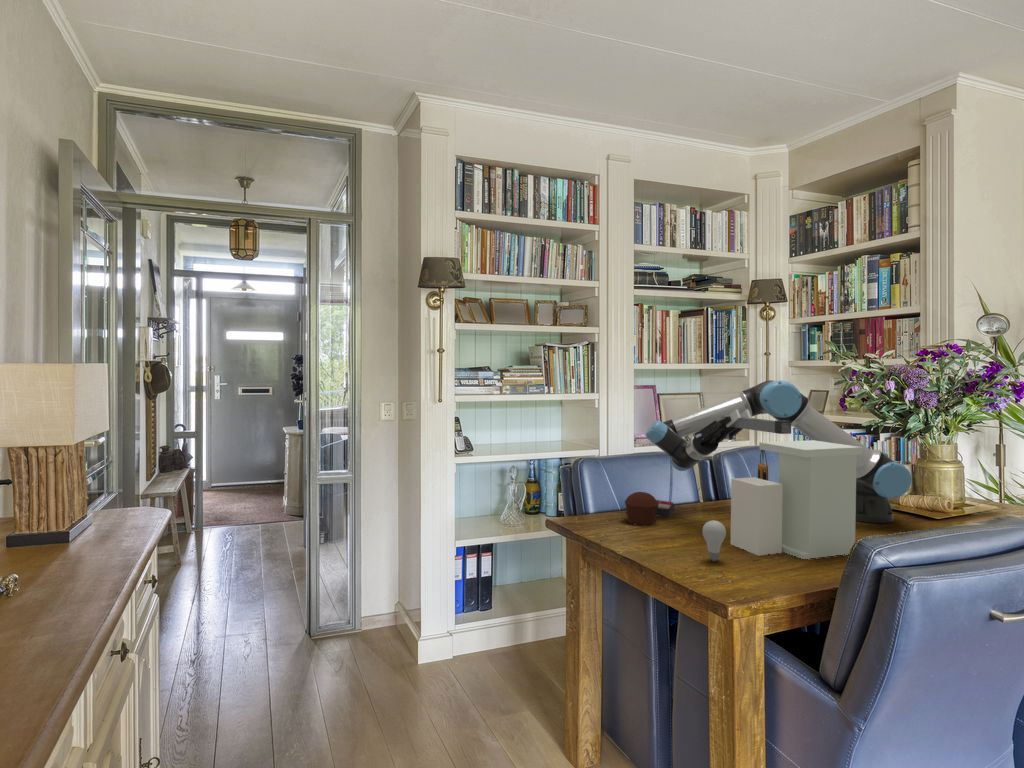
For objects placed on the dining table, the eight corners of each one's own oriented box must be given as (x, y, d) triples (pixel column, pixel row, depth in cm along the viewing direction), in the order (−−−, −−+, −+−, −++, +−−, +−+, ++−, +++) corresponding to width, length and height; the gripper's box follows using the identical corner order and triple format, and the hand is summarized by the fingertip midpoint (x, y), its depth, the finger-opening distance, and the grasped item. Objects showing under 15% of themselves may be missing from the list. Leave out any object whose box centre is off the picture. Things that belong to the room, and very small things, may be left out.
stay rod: (721, 425, 197) (721, 414, 197) (730, 425, 198) (730, 414, 198) (780, 433, 173) (781, 421, 172) (791, 433, 174) (791, 421, 174)
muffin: (665, 525, 211) (665, 495, 211) (635, 527, 208) (635, 497, 208) (647, 517, 222) (647, 488, 222) (618, 519, 219) (618, 490, 219)
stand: (758, 542, 190) (759, 442, 189) (811, 537, 197) (813, 440, 196) (803, 560, 173) (804, 449, 172) (860, 553, 179) (862, 447, 179)
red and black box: (669, 507, 223) (627, 501, 229) (668, 519, 223) (626, 513, 229) (674, 501, 233) (634, 496, 239) (674, 513, 233) (633, 507, 239)
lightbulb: (698, 558, 175) (698, 518, 174) (720, 557, 175) (720, 517, 175) (707, 565, 168) (707, 523, 168) (729, 564, 169) (730, 523, 169)
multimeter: (789, 501, 249) (789, 450, 249) (762, 500, 251) (762, 450, 251) (781, 494, 264) (781, 446, 263) (755, 493, 265) (756, 445, 265)
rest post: (730, 544, 188) (731, 478, 188) (753, 542, 191) (753, 477, 190) (758, 555, 177) (759, 485, 176) (781, 553, 179) (782, 484, 179)
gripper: (726, 454, 210) (769, 424, 191) (684, 456, 205) (724, 425, 186) (719, 433, 214) (761, 402, 194) (677, 435, 209) (716, 402, 189)
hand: (743, 413), depth 190 cm, fingers closed on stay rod, 3 cm apart
